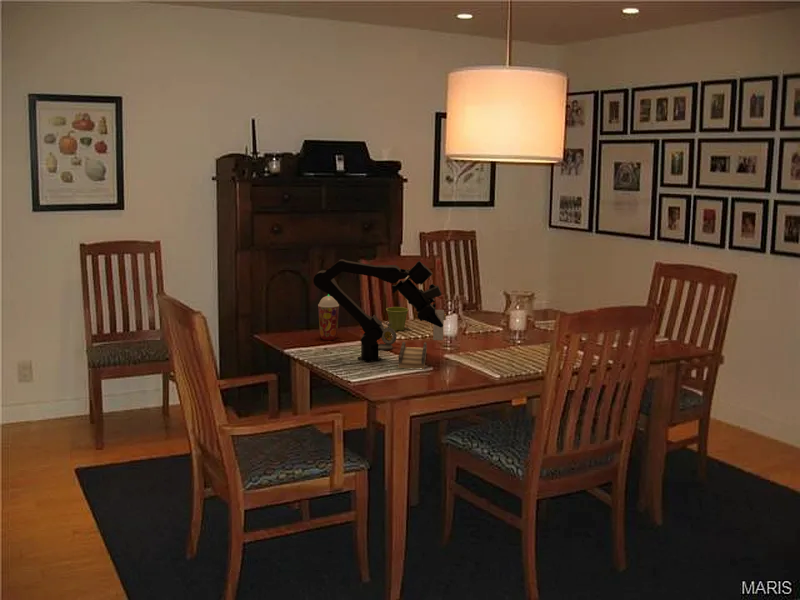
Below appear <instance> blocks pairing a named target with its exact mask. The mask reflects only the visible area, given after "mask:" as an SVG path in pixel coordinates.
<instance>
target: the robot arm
mask: <svg viewBox="0 0 800 600" xmlns="http://www.w3.org/2000/svg"><path fill="white" fill-rule="evenodd" d="M343 272H344V273H351V274H357V275H362V276H368V277H374V278H377V279H379V280H381V281H384V282H385V283H389V284H392V285H391V288H392V291H391V292H392V294H394V295H395V293H396V292H397V291H398V292H399V293H400V294H401V295H402V296H403V298H404V299H406V300H407V303H408V304H409V305H411V306H412V307H413V308H414V309H415V311H416V313H417V315H416V318H417V319H418V320H419V321H420V322H422V321H423V322H424V321H425V322H427V323H430V324H432V325H436V326H439V327H442V326H443V324H442V322H441V321H440V320H439V318H438V317H437V315H436V314H435V310H437V309H436V308H437V307H436V306H437V305H436V304H437V303H436V302H435V301H436V299H435V298H438V297H440V296H442V291H441V289H440V286H439V285H435V284H434V283H431V284H430V285H429V287H428V289H426V290H423V289H420V288H419V287H417V286H416V285H423V284H424V283H425V282H426V281H427V280H428V279H429V278H430V277H432V275H433V274H434V273H433V272H432V270H431V269H430V268H429V267H428V266H427V265H425V264H424V263H423V262H422V261H420V260H418V261H417V262H416V263H415V264H414V265H413V266H412V267H411V268H410V269H404V268H400V266H398V265H397V264H383V265H375V264H369V263H363V262H357V261H351V260H346V259H343V258H342V259H339V260H338V261H336V263H334V264H333V265H331V266H330V267H328V268H327V269H326V270H324V269H322V270H319V271H318V272H317V273H316V274H315V275H314V277H313V285H314V286H315V287H316V288H317V289H319V291H322V292H323V293H325V294H327V295H328V294H329V296H332V297H333V298H334V299H335V300H336V301H337V302H338V304H339V306H341V307H342V308H343V309H344V310H345V311H346V312H347V313H348V314H349V315H350V316H351V317H352V318H353V319H354V320H355V321H356V322H357V323H358V324H359V326H360V327H361V329H362V331H363V332H364V333H363V334H362V336H361V338H360V342H361V343H360V345H361V346H360V348H361V349H360V351H361V352H360V356H357V359H358V360H361V361H363V360H364V361H363V362H366V363H370V362H375V360H376V361H381V359H383V358H382V357H379V351H380V349H378V344H379V343H378V341H379V340H380V339H382V338H381V337H382V335H383V332H384V328H385V326H384V325H383V321H382V320H380V319H379V318H378V317H377V316H376V314H373V316H371V315H369V314H367V313H366V312H365V311H364V310H363V309H362V308H361V307H360V306H359V305H358V304H357V303H356V302H355V301H354V300H353V299H352V298H351V297H350V296H349V295H347V293H346V292H344V290H343V289H342V288H340V286H339V285H338V282H337V281H336V279H335V278H336V277H337V276H338V275H340V274H341V273H343ZM395 283H396V284H395ZM432 303H433V304H432ZM443 327H444V326H443ZM369 361H370V362H369Z"/></svg>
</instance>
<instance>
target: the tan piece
mask: <svg viewBox="0 0 800 600" xmlns="http://www.w3.org/2000/svg"><path fill="white" fill-rule="evenodd" d="M427 343H428V342H425V341H424V342H423V346H422V347H417V346H416V347H414V346H413V347H411V346H406V341H402V342H401V346H400V350H399V355H398V363H397V364H398V366H397V368H398V367H399V368H422V369H424V370H425V368H424V367H425V366H426V359H427V349H428V347H427Z"/></svg>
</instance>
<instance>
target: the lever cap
mask: <svg viewBox="0 0 800 600" xmlns="http://www.w3.org/2000/svg"><path fill="white" fill-rule="evenodd" d="M435 314H436V315H437V317H438V318H439V320H440V321H441V322H442V324H443V326H442V327H439V326H436V325H434V324H432V325H433V329H432V330H433V331H432V332H433V333H432V336H433V337H432V340H433V341H443V340H444V325H445V324H444V321H447V313H445V310H444V309H436V310H435Z"/></svg>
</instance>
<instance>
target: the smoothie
mask: <svg viewBox="0 0 800 600" xmlns="http://www.w3.org/2000/svg"><path fill="white" fill-rule="evenodd" d="M317 306H318V309H317V311H318V323H319V324H318V325H319V326H318V327H319V336H320V337H321V340H324V341H334V340H336V339H337V337H338V329H339V314H340V313H339V311H340V304H339V303H338V302H337V301H336V300H335V299H334V298H333V297H332V296H330V295H329V294H327V295H325V296H323V297H322V298H321V299H320V301H319V303H318V304H317Z"/></svg>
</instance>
